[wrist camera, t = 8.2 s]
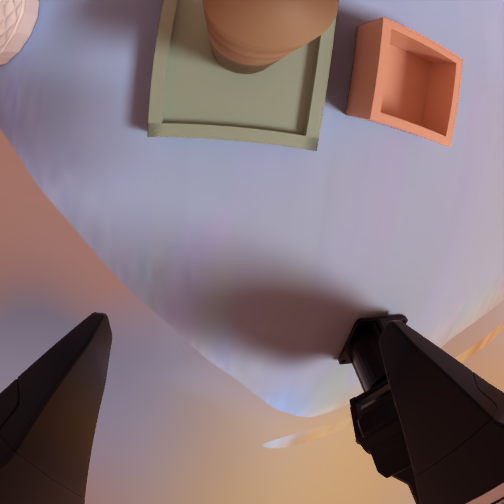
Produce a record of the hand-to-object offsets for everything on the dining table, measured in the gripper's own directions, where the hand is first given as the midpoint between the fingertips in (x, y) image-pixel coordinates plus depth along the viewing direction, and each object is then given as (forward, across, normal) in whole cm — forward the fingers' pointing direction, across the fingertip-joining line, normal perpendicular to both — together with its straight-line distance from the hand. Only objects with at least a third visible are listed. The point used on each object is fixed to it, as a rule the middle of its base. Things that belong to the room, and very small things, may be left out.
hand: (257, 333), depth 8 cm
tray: (+12, +1, -10) cm, 16 cm away
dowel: (+11, +1, -10) cm, 15 cm away
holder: (+12, -10, -10) cm, 19 cm away
